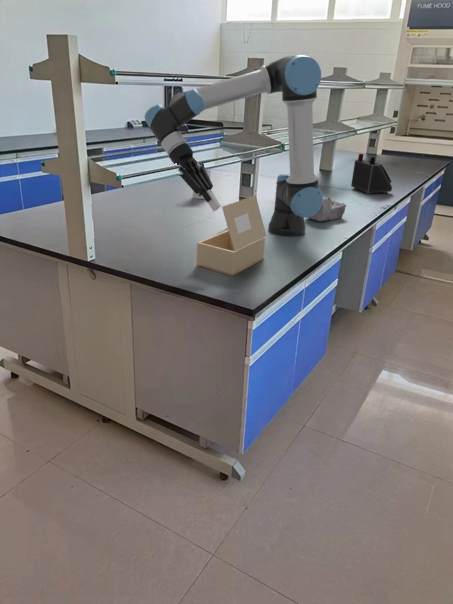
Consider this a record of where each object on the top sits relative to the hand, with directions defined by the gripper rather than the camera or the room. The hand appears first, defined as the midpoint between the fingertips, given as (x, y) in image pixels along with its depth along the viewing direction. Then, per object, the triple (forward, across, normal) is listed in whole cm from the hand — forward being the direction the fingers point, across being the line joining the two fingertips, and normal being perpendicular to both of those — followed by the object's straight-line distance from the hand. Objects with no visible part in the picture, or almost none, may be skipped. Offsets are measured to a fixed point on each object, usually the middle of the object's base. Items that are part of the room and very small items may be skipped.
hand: (217, 208), depth 159 cm
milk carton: (-27, -68, -52) cm, 90 cm away
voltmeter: (+16, -151, -9) cm, 152 cm away
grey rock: (+18, -77, -7) cm, 79 cm away
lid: (+9, -1, +5) cm, 11 cm away
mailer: (+17, -1, -8) cm, 19 cm away
